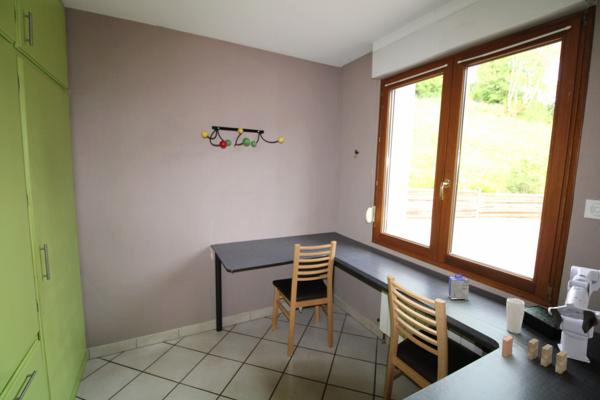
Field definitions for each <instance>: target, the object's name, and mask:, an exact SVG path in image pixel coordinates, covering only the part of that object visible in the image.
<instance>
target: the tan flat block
mask: <svg viewBox="0 0 600 400" xmlns="http://www.w3.org/2000/svg"><path fill="white" fill-rule="evenodd" d="M552 358H553V345H551V344H549V343H548V344H546V345H544V346H543V347H541V355H540V365H541V366H543V367H545V368H546V367H548V366H550V364H552V360H553V359H552Z"/></svg>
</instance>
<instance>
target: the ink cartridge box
mask: <svg viewBox="0 0 600 400" xmlns="http://www.w3.org/2000/svg"><path fill="white" fill-rule="evenodd" d="M469 286H470V280H469V279H468V277H463V275H462V273H455V274H454V276H449V277H448V294H449V296H450V298H457V299H466V300H465V301H467V300H468V301H469V288H470V287H469ZM449 296H448V297H449ZM450 298H449V299H450Z"/></svg>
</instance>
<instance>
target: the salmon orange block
mask: <svg viewBox="0 0 600 400" xmlns="http://www.w3.org/2000/svg"><path fill="white" fill-rule="evenodd" d="M513 343H514V337H512V336H511V335H508V336H506V337H504V338H503V339H502V344H501V347H502V348H501V356H502V357H504V358H507V357H509V356H511V355H512V354H513V346H514V345H513Z"/></svg>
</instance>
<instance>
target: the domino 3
mask: <svg viewBox="0 0 600 400" xmlns="http://www.w3.org/2000/svg"><path fill="white" fill-rule="evenodd" d="M567 354H568V352H565V351H563V350H562V351H560V350H559V352H558V353H556V358H555V368H554V369H555V373H558V374H559V375H562V374H563V373H564V372H565V371H567V365H568V357H567Z"/></svg>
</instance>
